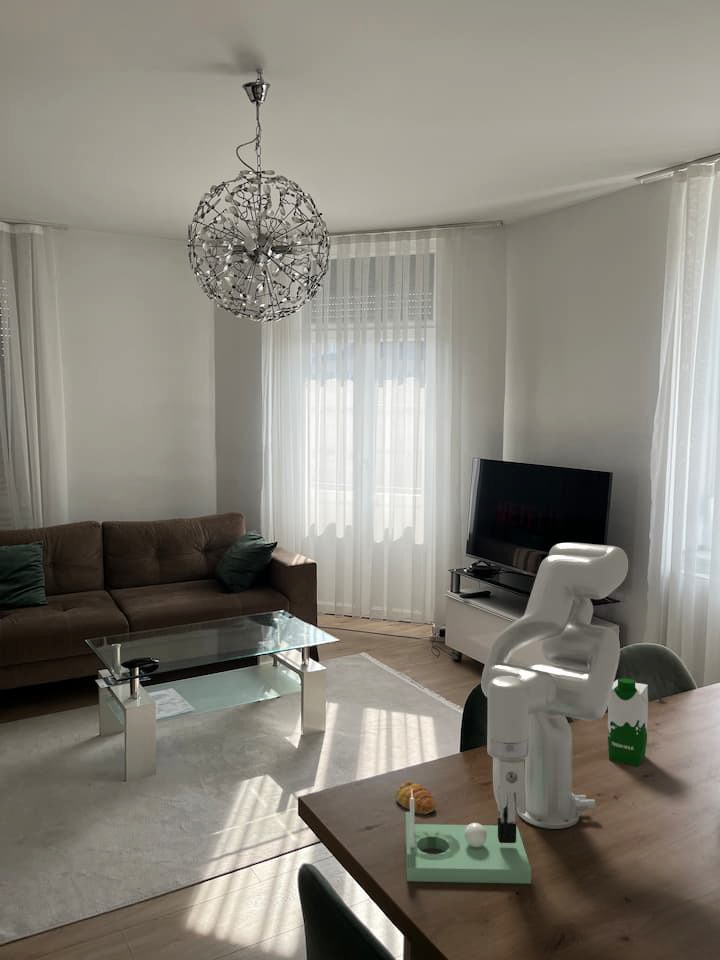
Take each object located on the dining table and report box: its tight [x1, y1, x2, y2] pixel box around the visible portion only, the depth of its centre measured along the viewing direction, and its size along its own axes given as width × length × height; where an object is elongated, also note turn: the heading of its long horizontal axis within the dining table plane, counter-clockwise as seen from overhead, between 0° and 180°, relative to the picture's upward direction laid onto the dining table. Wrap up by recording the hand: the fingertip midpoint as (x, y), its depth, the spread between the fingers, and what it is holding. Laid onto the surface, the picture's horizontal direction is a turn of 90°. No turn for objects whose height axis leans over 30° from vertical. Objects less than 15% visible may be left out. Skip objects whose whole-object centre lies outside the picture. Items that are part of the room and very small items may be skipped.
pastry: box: [395, 780, 437, 815], centre depth 162 cm, size 9×7×4 cm
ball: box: [464, 822, 487, 848], centre depth 141 cm, size 4×4×4 cm
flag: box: [409, 789, 415, 848], centre depth 139 cm, size 1×4×14 cm, turn 178°
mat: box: [405, 811, 532, 885], centre depth 142 cm, size 22×15×5 cm
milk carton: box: [607, 677, 649, 767], centre depth 184 cm, size 9×9×20 cm
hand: (506, 840), depth 141 cm, fingers closed
